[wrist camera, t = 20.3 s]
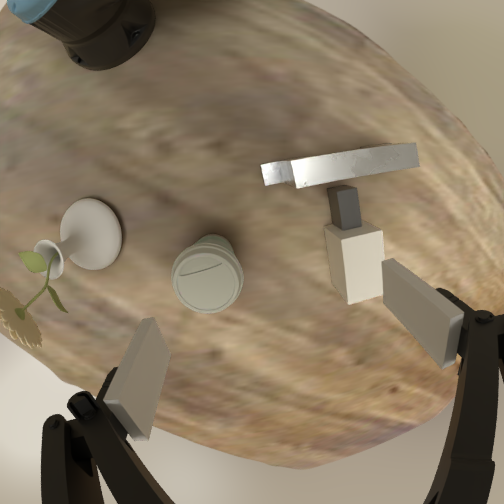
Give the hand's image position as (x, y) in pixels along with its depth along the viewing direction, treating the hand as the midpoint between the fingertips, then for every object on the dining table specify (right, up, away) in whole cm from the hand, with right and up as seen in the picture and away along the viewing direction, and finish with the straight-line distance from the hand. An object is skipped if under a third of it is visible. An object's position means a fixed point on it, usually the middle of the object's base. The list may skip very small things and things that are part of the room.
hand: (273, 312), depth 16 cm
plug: (+13, +6, +29) cm, 32 cm away
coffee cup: (-7, +3, +28) cm, 29 cm away
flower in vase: (-26, +6, +27) cm, 38 cm away
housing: (+10, +16, +25) cm, 32 cm away
